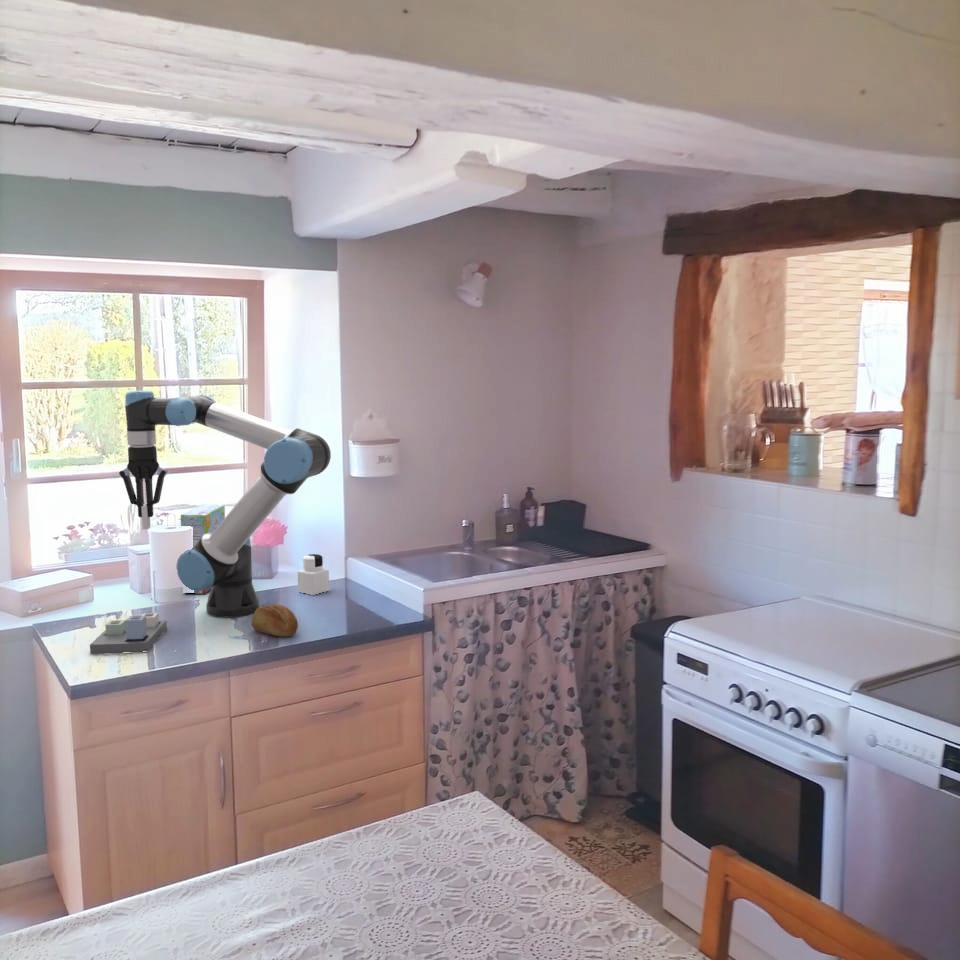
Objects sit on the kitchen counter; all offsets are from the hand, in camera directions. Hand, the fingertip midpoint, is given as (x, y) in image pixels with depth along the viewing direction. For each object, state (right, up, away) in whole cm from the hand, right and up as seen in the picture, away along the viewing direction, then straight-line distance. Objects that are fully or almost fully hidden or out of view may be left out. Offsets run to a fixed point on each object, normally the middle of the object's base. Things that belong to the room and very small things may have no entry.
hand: (146, 528), depth 257 cm
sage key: (-2, -29, -17) cm, 34 cm away
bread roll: (+39, -28, -11) cm, 49 cm away
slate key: (+6, -27, -23) cm, 36 cm away
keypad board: (+2, -29, -17) cm, 34 cm away
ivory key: (+5, -28, -11) cm, 30 cm away
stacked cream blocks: (+42, -22, +32) cm, 57 cm away
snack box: (+5, -21, +40) cm, 46 cm away
